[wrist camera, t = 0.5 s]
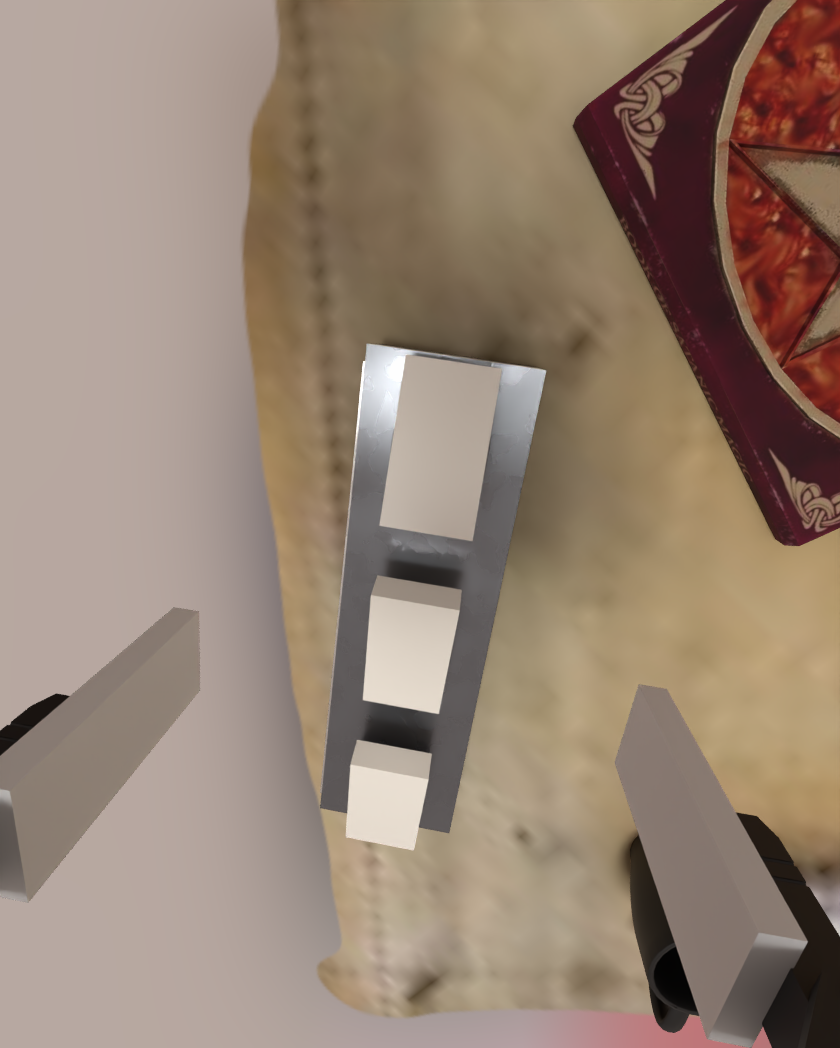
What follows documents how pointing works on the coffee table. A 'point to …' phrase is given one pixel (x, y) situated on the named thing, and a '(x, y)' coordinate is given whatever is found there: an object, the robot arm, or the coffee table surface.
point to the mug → (658, 948)
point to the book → (744, 232)
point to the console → (422, 581)
